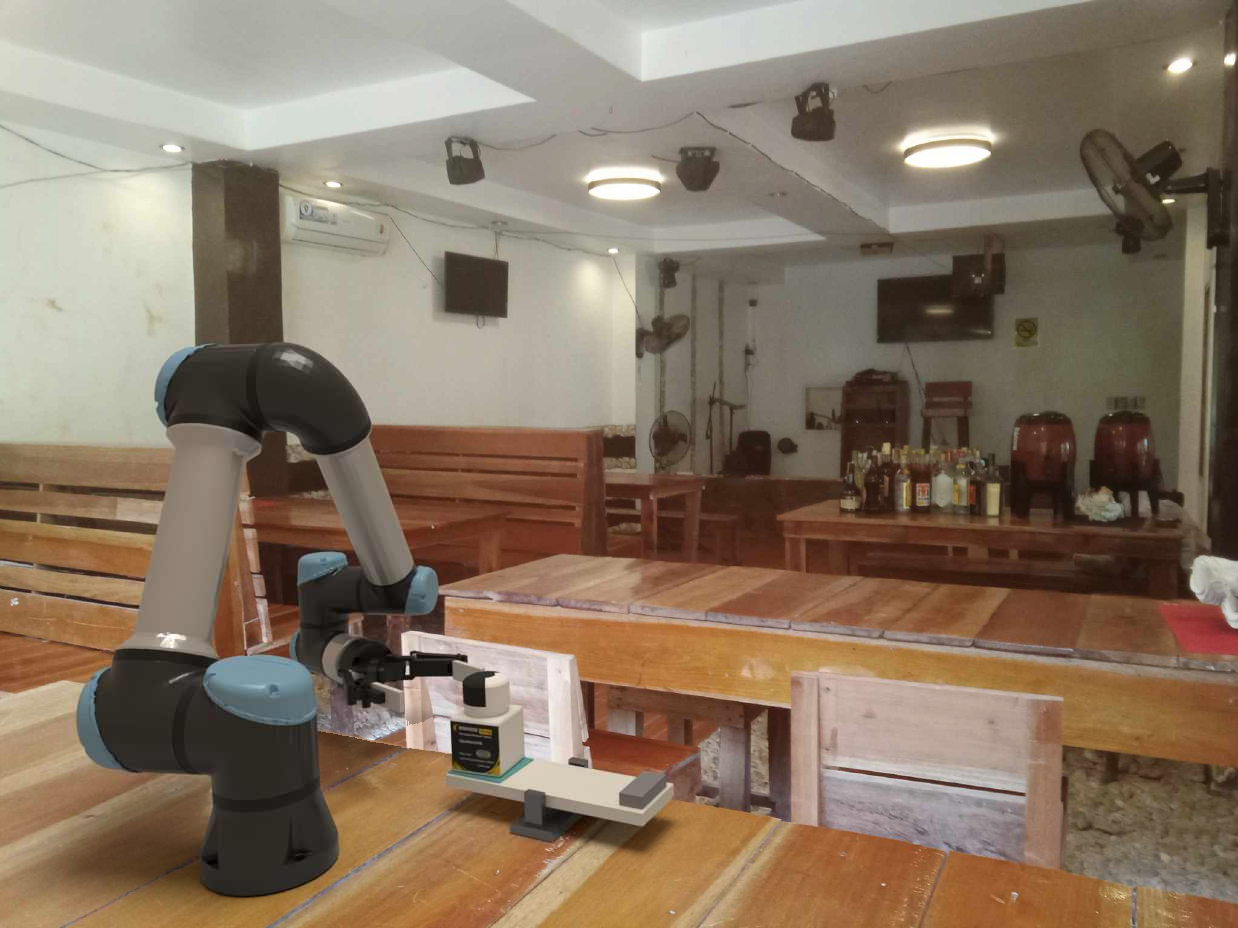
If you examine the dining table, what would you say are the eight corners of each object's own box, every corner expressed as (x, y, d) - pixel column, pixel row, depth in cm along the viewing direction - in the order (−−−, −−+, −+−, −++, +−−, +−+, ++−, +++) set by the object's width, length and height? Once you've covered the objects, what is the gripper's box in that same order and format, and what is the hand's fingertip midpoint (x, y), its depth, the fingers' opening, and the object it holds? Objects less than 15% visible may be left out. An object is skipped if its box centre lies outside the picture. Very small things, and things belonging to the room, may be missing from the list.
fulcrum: (603, 798, 125) (602, 760, 124) (552, 842, 113) (551, 800, 113) (563, 790, 127) (562, 752, 127) (510, 832, 116) (508, 791, 115)
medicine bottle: (451, 771, 123) (447, 680, 122) (478, 751, 129) (475, 664, 128) (500, 778, 120) (496, 685, 119) (525, 757, 127) (522, 669, 126)
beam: (673, 795, 118) (673, 771, 117) (642, 826, 110) (642, 801, 109) (486, 760, 130) (485, 738, 130) (446, 785, 122) (445, 763, 122)
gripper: (427, 667, 154) (513, 693, 140) (283, 707, 136) (365, 741, 122) (425, 622, 154) (512, 643, 139) (281, 655, 135) (363, 684, 121)
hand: (444, 689), depth 130 cm, fingers open, 13 cm apart
